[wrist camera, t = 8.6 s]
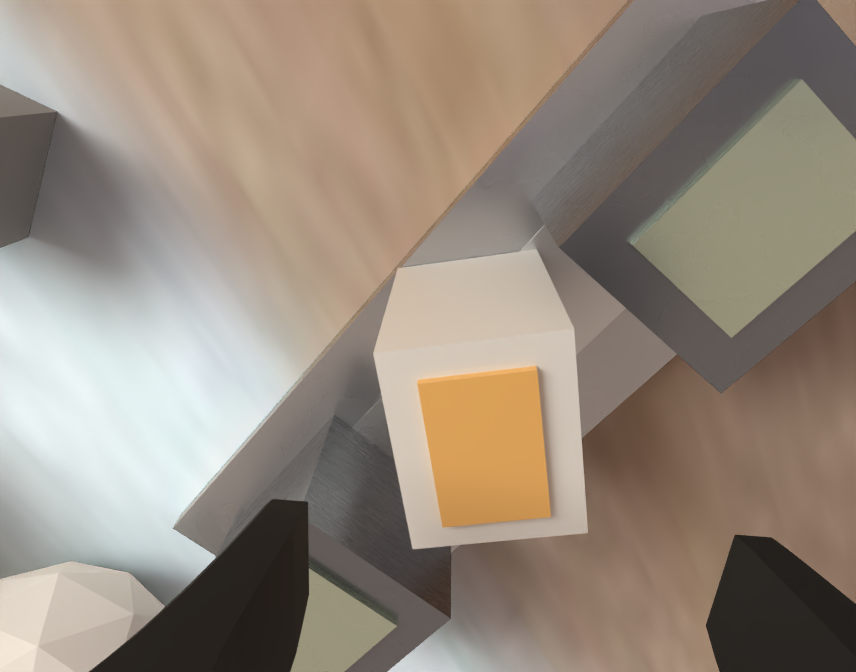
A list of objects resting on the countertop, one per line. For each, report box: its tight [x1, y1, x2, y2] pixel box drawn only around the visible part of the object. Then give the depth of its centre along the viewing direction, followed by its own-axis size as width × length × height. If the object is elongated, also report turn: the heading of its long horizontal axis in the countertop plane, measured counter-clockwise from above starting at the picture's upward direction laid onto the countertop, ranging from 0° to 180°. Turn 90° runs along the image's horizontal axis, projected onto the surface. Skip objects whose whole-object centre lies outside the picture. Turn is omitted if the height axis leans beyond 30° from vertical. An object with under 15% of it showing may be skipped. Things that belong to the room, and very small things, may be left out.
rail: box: [173, 0, 856, 672], centre depth 17 cm, size 8×24×6 cm, turn 139°
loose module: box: [373, 249, 588, 549], centre depth 16 cm, size 4×5×6 cm
